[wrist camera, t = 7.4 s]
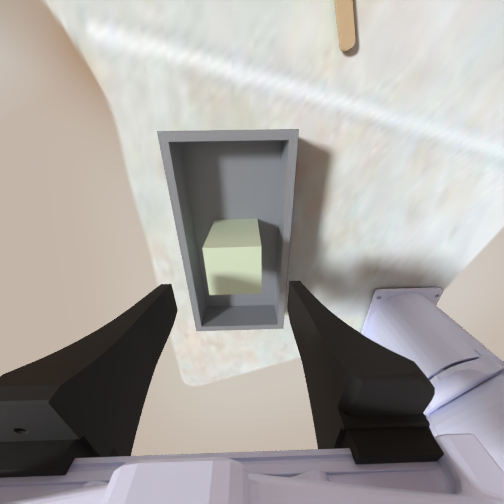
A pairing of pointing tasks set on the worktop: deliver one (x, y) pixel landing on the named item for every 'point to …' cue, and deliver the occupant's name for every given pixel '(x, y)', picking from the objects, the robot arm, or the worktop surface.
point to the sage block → (233, 257)
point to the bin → (233, 214)
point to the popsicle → (345, 24)
